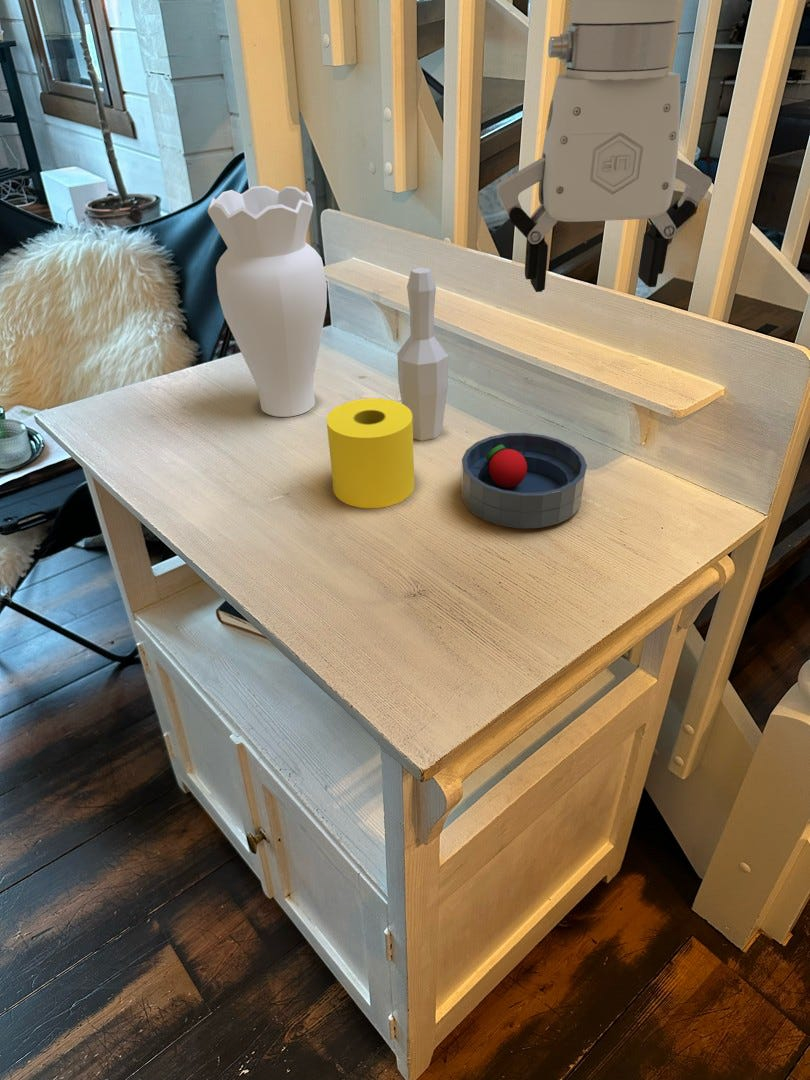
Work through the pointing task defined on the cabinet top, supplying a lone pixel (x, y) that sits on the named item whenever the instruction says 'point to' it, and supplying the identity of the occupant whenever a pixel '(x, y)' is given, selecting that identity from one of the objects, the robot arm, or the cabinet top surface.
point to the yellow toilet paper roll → (371, 452)
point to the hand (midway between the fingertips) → (591, 284)
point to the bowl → (525, 482)
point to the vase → (272, 291)
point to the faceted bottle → (423, 360)
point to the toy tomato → (506, 466)
